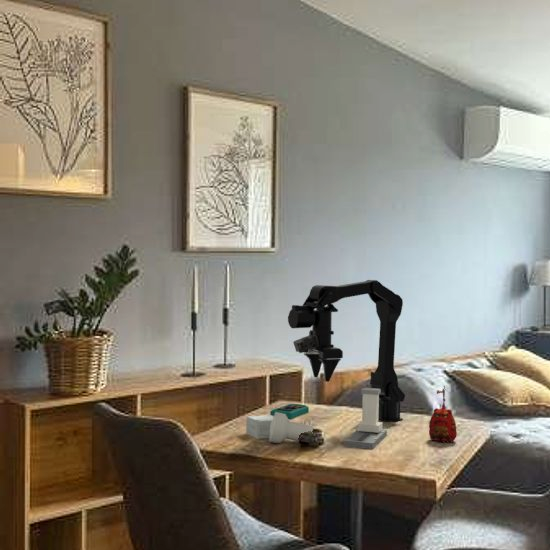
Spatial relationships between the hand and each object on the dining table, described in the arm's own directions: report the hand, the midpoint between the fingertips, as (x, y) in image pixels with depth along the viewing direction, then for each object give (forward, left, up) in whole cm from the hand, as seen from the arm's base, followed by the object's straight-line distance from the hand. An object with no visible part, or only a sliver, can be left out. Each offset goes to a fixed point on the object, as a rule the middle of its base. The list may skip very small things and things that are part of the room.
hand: (321, 379), depth 239 cm
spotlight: (+19, +17, -14) cm, 29 cm away
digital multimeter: (0, -20, -15) cm, 25 cm away
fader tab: (-6, +18, -12) cm, 23 cm away
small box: (+21, +5, -15) cm, 26 cm away
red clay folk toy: (-23, +29, -14) cm, 40 cm away
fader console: (-2, +22, -14) cm, 26 cm away
